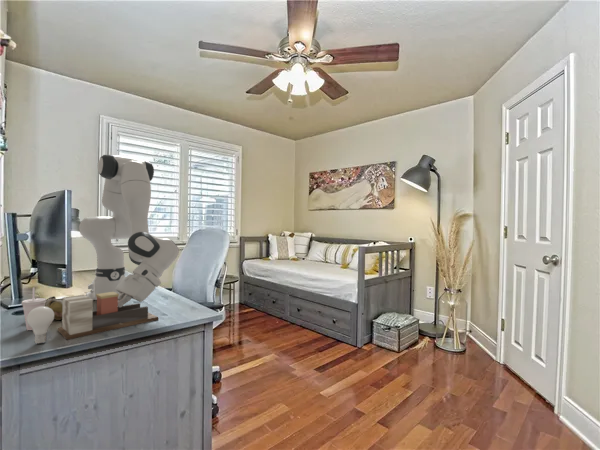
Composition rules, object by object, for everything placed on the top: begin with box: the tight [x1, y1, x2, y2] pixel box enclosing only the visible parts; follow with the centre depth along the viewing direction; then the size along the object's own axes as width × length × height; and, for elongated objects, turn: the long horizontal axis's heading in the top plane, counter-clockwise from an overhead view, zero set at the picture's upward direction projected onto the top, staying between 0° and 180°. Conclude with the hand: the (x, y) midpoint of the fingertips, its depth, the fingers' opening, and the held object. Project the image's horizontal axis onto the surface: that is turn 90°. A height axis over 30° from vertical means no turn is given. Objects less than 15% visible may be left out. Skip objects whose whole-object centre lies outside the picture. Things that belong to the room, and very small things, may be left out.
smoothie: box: [21, 287, 47, 331], centre depth 106 cm, size 6×6×14 cm
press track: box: [57, 294, 159, 341], centre depth 111 cm, size 12×28×11 cm, turn 138°
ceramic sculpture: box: [45, 296, 63, 321], centre depth 117 cm, size 11×9×15 cm
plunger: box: [96, 292, 119, 315], centre depth 110 cm, size 5×5×10 cm
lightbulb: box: [27, 306, 55, 345], centre depth 93 cm, size 6×6×11 cm
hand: (117, 305), depth 112 cm, fingers closed, pressing on plunger
